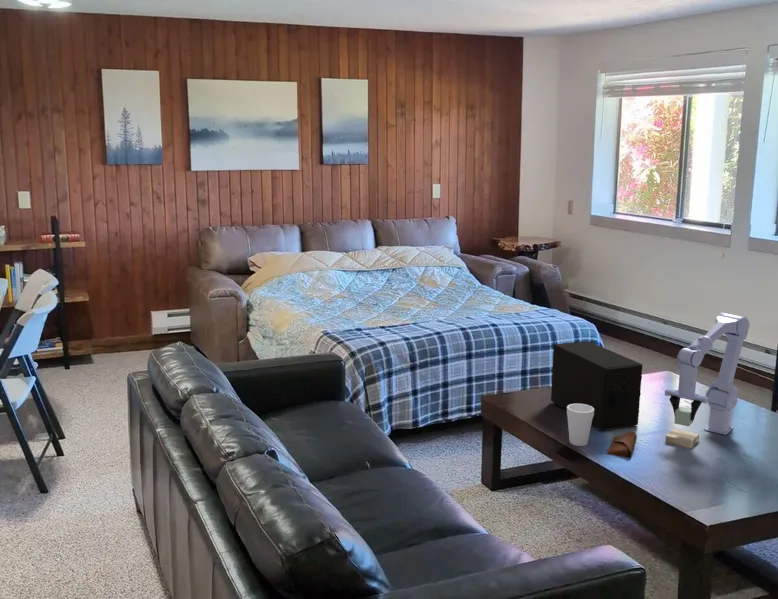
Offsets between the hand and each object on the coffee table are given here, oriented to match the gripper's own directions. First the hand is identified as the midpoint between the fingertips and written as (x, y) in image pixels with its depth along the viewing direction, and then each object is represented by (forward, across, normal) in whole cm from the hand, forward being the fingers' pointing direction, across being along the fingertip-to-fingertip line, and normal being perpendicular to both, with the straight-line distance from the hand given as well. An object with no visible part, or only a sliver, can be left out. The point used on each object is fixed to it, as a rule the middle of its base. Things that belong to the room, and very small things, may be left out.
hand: (684, 418), depth 284 cm
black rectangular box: (+9, -35, +7) cm, 37 cm away
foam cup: (+9, -29, -24) cm, 39 cm away
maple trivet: (+9, 0, 0) cm, 9 cm away
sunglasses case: (+10, -15, -18) cm, 26 cm away
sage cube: (+2, 0, 0) cm, 2 cm away
